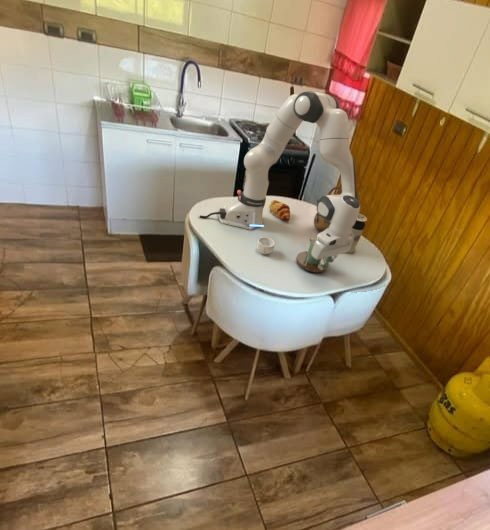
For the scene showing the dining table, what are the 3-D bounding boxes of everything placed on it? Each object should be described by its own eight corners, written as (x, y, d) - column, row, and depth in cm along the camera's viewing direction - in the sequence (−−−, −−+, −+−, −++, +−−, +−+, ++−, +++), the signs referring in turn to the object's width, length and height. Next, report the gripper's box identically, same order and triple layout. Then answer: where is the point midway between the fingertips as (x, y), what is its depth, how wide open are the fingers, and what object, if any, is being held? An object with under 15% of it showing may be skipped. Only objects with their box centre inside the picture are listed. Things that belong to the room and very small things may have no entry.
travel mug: (335, 244, 187) (347, 212, 177) (348, 243, 190) (361, 212, 180) (343, 253, 182) (356, 221, 171) (356, 253, 184) (371, 221, 174)
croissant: (266, 209, 212) (262, 198, 207) (282, 202, 213) (279, 190, 207) (281, 228, 196) (278, 217, 191) (298, 220, 197) (296, 208, 192)
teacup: (274, 257, 168) (276, 247, 165) (257, 256, 166) (260, 246, 163) (268, 244, 176) (271, 234, 173) (252, 243, 174) (255, 233, 171)
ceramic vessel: (331, 226, 203) (348, 183, 188) (339, 235, 196) (356, 191, 181) (304, 225, 198) (318, 181, 183) (310, 234, 191) (326, 189, 176)
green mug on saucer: (289, 256, 168) (296, 237, 163) (312, 251, 176) (319, 232, 170) (312, 277, 159) (319, 257, 153) (335, 270, 166) (343, 251, 160)
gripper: (349, 227, 159) (338, 254, 167) (314, 234, 149) (304, 262, 157) (360, 235, 155) (348, 262, 163) (325, 243, 145) (314, 271, 153)
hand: (326, 262), depth 160 cm, fingers open, 3 cm apart
